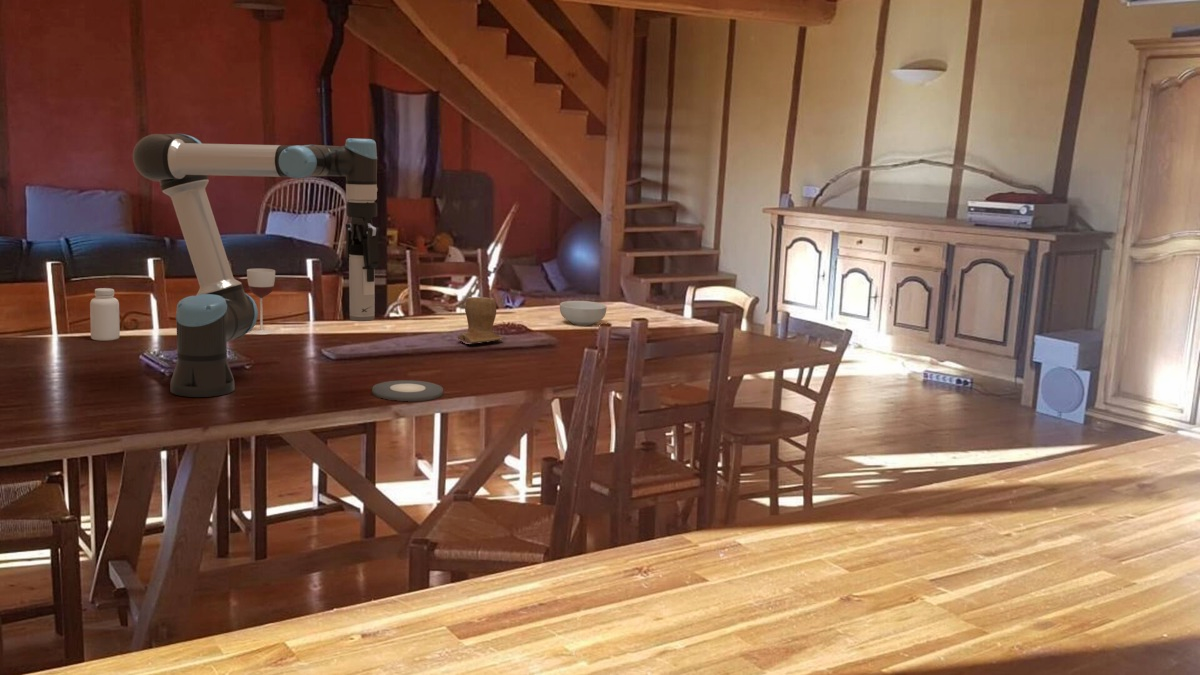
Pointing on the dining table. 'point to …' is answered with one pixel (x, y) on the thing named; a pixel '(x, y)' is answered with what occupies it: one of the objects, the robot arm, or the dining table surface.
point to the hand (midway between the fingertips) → (362, 292)
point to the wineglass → (261, 290)
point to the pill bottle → (104, 315)
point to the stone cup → (480, 320)
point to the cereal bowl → (582, 312)
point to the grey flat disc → (407, 390)
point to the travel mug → (359, 287)
